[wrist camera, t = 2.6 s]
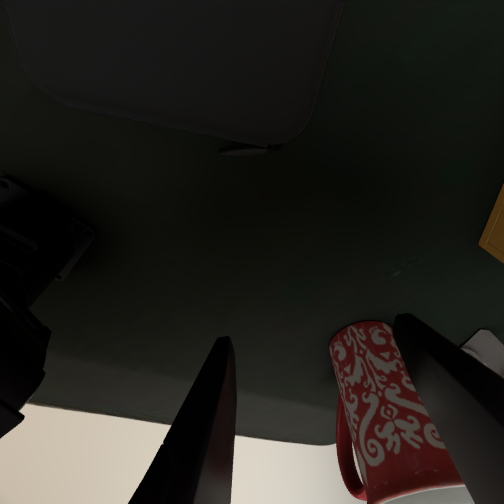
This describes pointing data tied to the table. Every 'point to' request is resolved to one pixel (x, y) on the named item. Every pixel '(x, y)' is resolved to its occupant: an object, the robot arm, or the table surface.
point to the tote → (495, 230)
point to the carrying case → (182, 62)
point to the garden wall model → (487, 350)
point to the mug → (387, 425)
